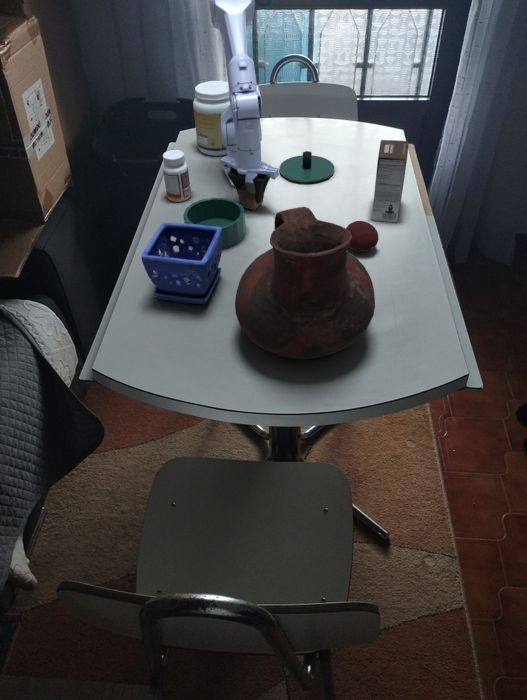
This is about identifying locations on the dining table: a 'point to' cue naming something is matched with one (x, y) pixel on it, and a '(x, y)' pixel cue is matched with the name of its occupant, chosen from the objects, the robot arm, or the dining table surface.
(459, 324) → the dining table surface
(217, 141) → the supplement tub
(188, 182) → the pill bottle
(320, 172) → the tin lid
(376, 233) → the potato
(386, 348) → the dining table surface
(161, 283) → the flower pot
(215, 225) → the tin
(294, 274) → the jug
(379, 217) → the coffee box
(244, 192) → the block
